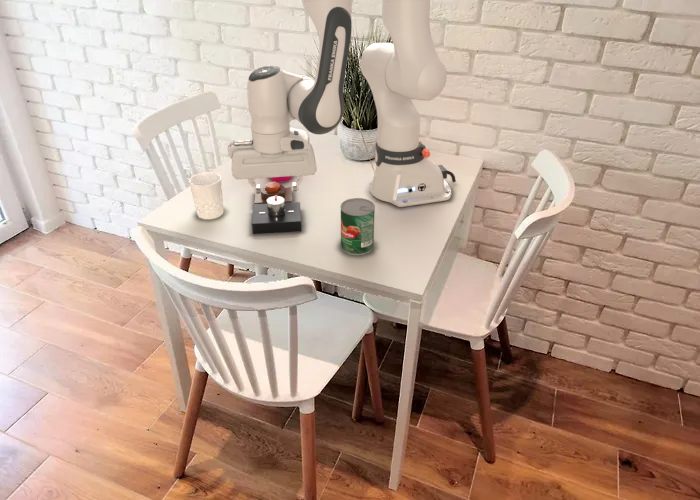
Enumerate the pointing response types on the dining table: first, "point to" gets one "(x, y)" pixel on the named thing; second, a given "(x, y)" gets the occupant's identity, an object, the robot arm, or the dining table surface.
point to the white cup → (207, 194)
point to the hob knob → (276, 206)
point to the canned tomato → (357, 226)
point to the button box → (264, 195)
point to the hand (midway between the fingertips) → (276, 191)
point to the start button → (272, 187)
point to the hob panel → (276, 219)
